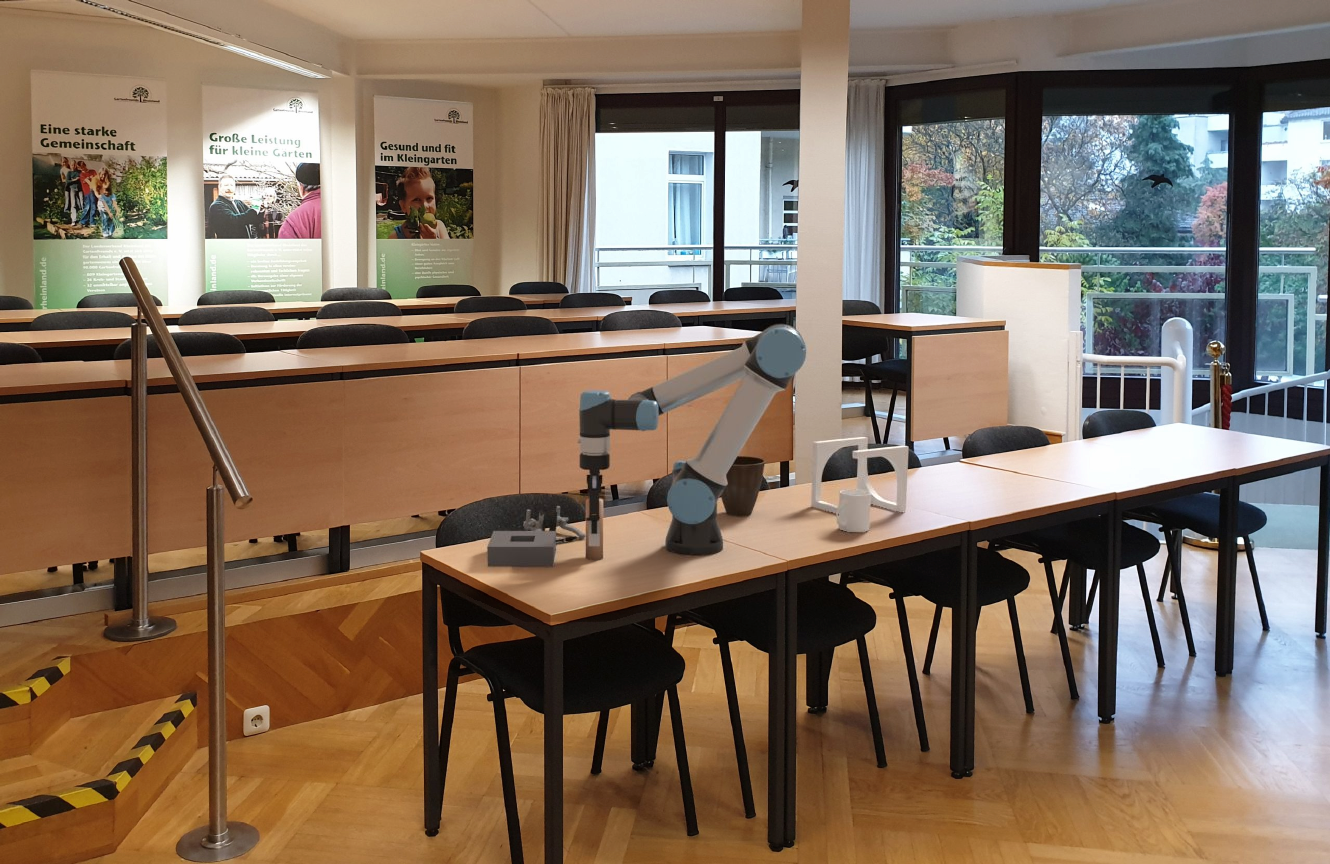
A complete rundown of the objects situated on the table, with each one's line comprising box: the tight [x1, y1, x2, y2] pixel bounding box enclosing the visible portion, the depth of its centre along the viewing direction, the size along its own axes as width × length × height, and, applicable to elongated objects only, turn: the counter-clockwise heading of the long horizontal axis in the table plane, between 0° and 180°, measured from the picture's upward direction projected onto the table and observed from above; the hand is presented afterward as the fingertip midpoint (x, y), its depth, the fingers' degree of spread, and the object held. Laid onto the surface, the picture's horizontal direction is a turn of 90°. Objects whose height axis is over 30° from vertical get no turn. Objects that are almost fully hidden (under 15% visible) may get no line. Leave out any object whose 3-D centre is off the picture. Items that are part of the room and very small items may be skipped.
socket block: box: [486, 530, 557, 568], centre depth 298 cm, size 16×16×5 cm
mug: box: [835, 488, 871, 533], centre depth 330 cm, size 9×12×11 cm
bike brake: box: [522, 505, 586, 545], centre depth 318 cm, size 14×7×20 cm
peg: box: [585, 497, 604, 561], centre depth 298 cm, size 4×4×15 cm
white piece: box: [810, 436, 909, 514], centre depth 357 cm, size 20×20×20 cm
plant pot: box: [720, 455, 766, 517], centre depth 349 cm, size 15×15×16 cm
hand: (594, 540), depth 298 cm, fingers open, 9 cm apart
